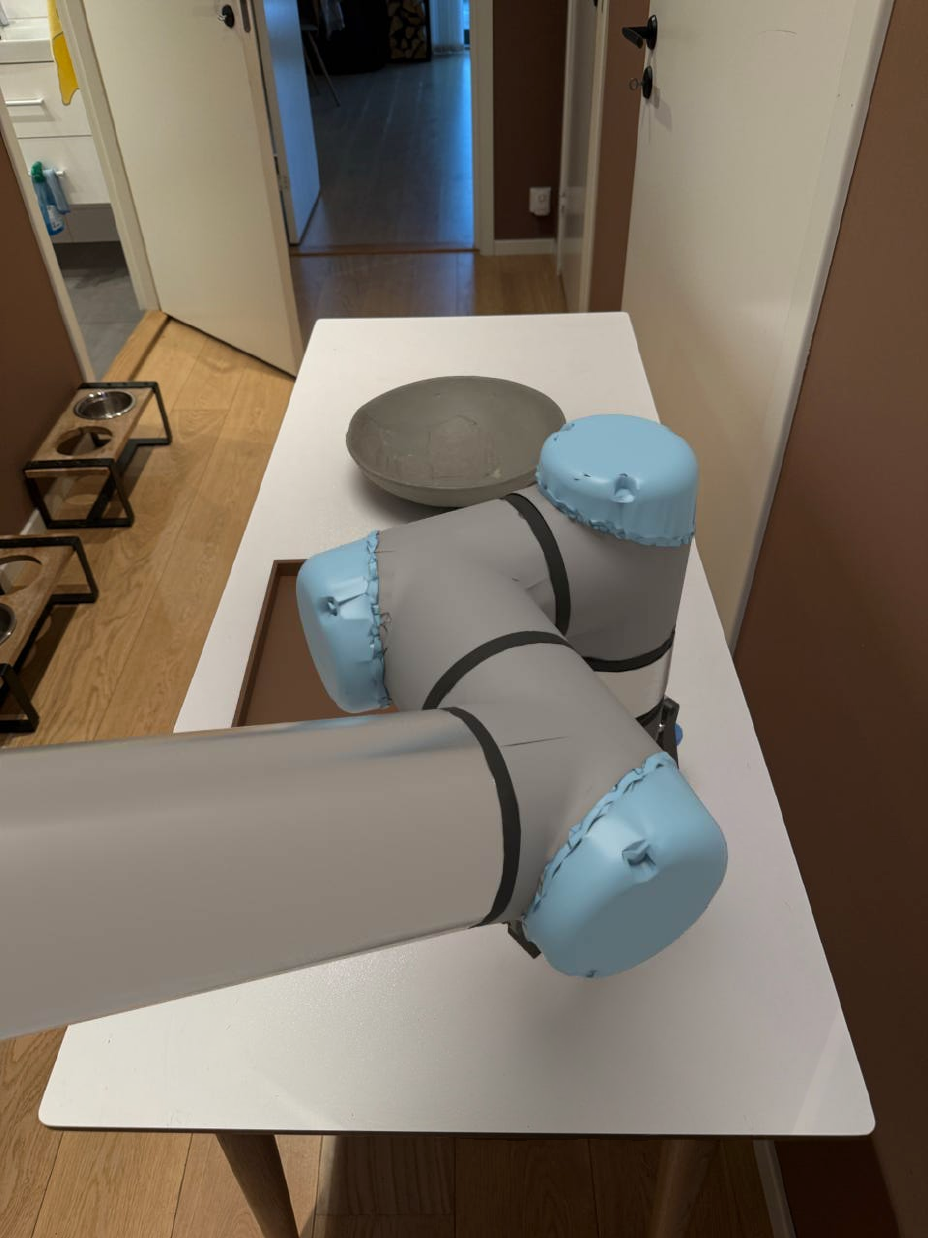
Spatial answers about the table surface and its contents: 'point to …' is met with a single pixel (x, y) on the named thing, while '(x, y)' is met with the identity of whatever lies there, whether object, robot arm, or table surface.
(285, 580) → the tray
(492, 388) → the bowl
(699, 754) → the table surface
